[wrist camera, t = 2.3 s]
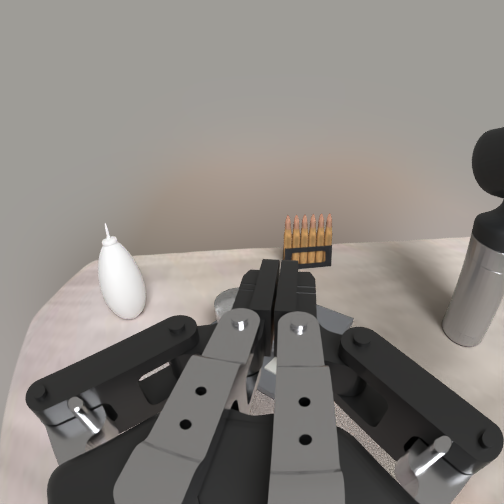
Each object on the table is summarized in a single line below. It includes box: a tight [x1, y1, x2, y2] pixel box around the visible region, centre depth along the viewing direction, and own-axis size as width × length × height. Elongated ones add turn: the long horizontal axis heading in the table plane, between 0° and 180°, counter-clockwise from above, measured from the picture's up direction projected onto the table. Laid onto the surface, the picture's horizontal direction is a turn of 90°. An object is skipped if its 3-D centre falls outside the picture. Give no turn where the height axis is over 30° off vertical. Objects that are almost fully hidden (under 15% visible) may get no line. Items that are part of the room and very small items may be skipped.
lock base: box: [212, 304, 354, 400], centre depth 41 cm, size 19×18×4 cm
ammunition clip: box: [283, 214, 332, 269], centre depth 58 cm, size 11×2×12 cm, turn 94°
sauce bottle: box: [98, 224, 146, 319], centre depth 43 cm, size 8×8×18 cm
